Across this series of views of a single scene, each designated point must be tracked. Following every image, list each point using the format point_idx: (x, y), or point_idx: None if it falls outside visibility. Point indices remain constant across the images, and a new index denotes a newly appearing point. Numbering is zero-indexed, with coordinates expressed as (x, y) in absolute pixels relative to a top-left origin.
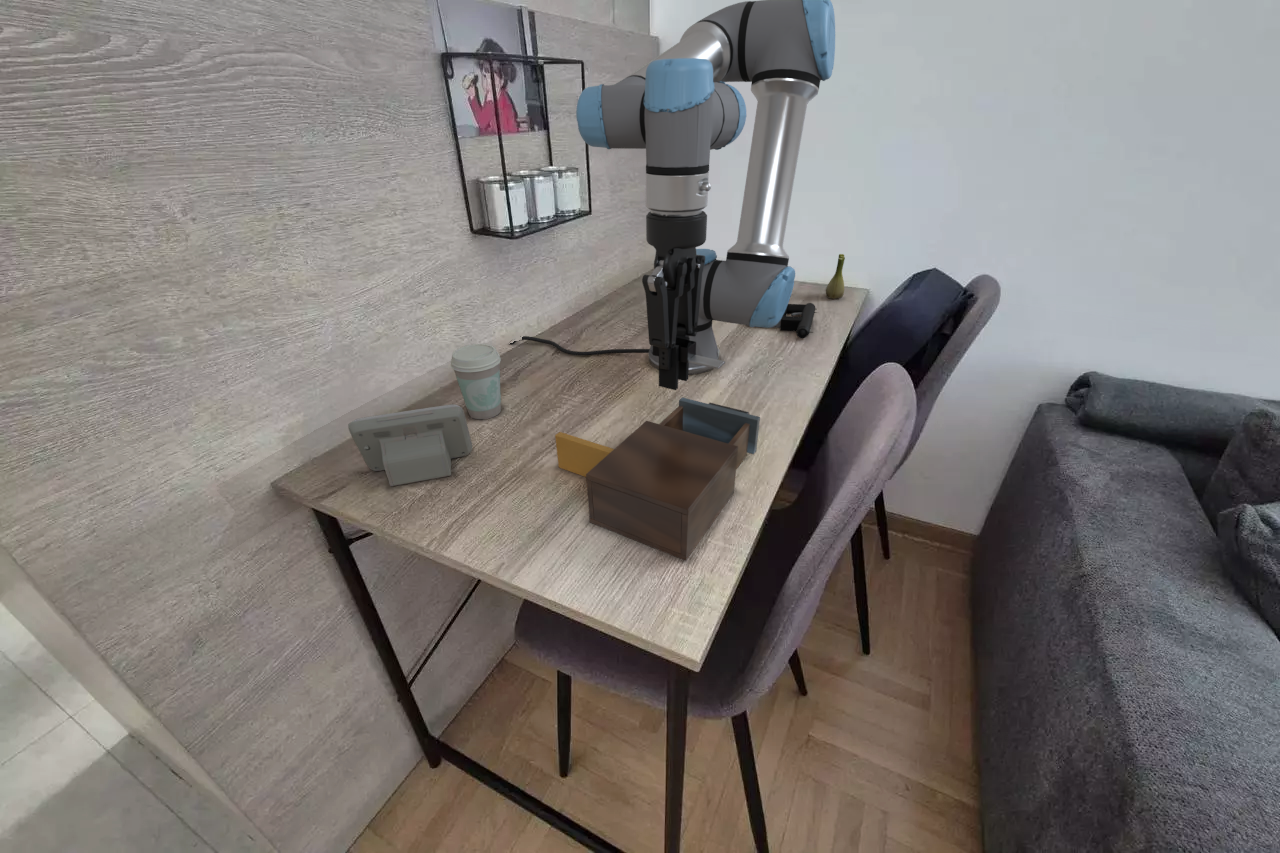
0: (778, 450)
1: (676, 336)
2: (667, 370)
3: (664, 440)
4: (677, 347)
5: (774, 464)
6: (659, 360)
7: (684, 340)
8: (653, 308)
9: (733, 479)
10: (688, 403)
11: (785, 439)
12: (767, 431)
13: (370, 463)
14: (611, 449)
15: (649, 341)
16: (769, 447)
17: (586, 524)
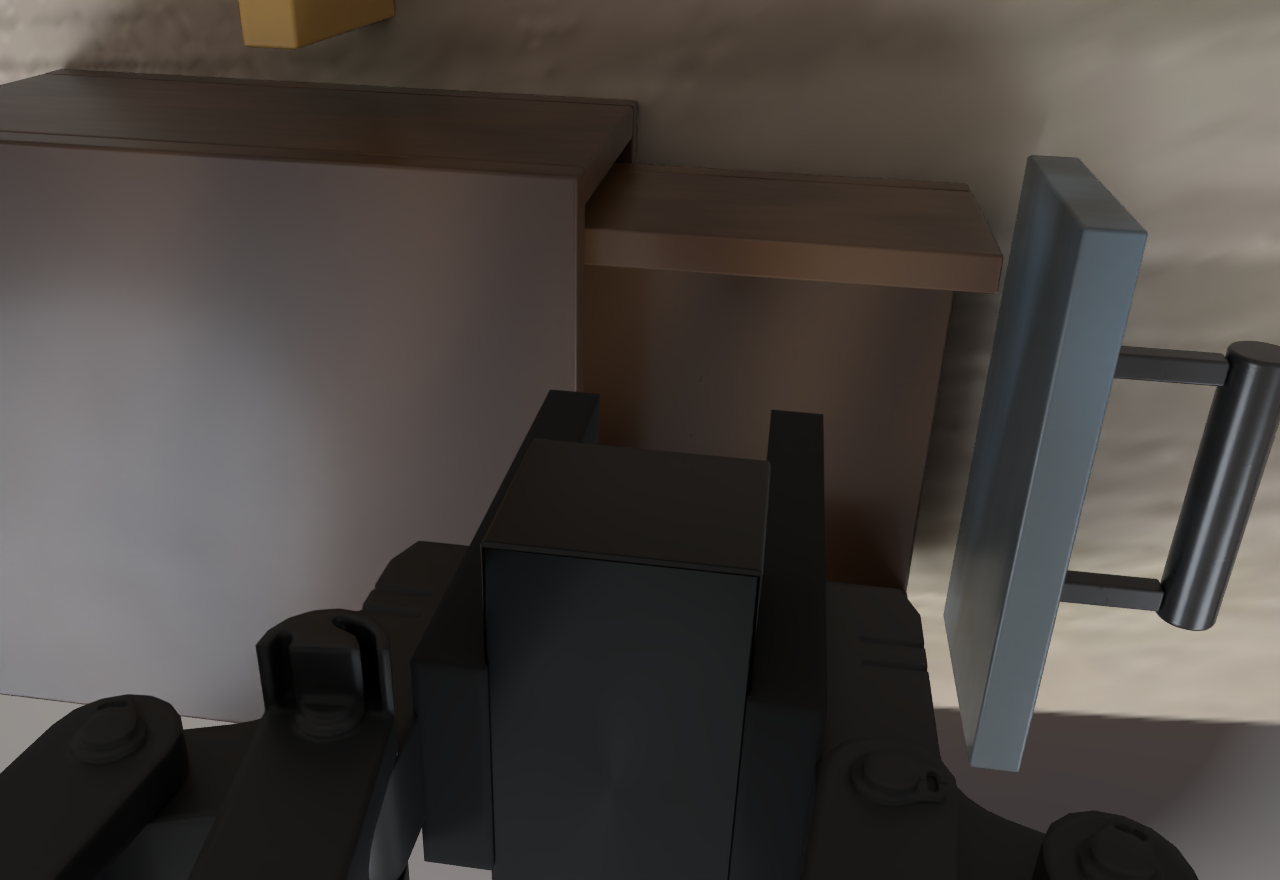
0: (1075, 683)
1: (762, 776)
2: None
3: (410, 401)
4: (462, 853)
5: (935, 686)
6: (366, 602)
7: (693, 875)
8: None
9: None
10: (1062, 313)
11: (1205, 696)
12: (1273, 605)
13: None
14: (278, 32)
15: (37, 745)
16: (1091, 642)
17: (43, 60)
